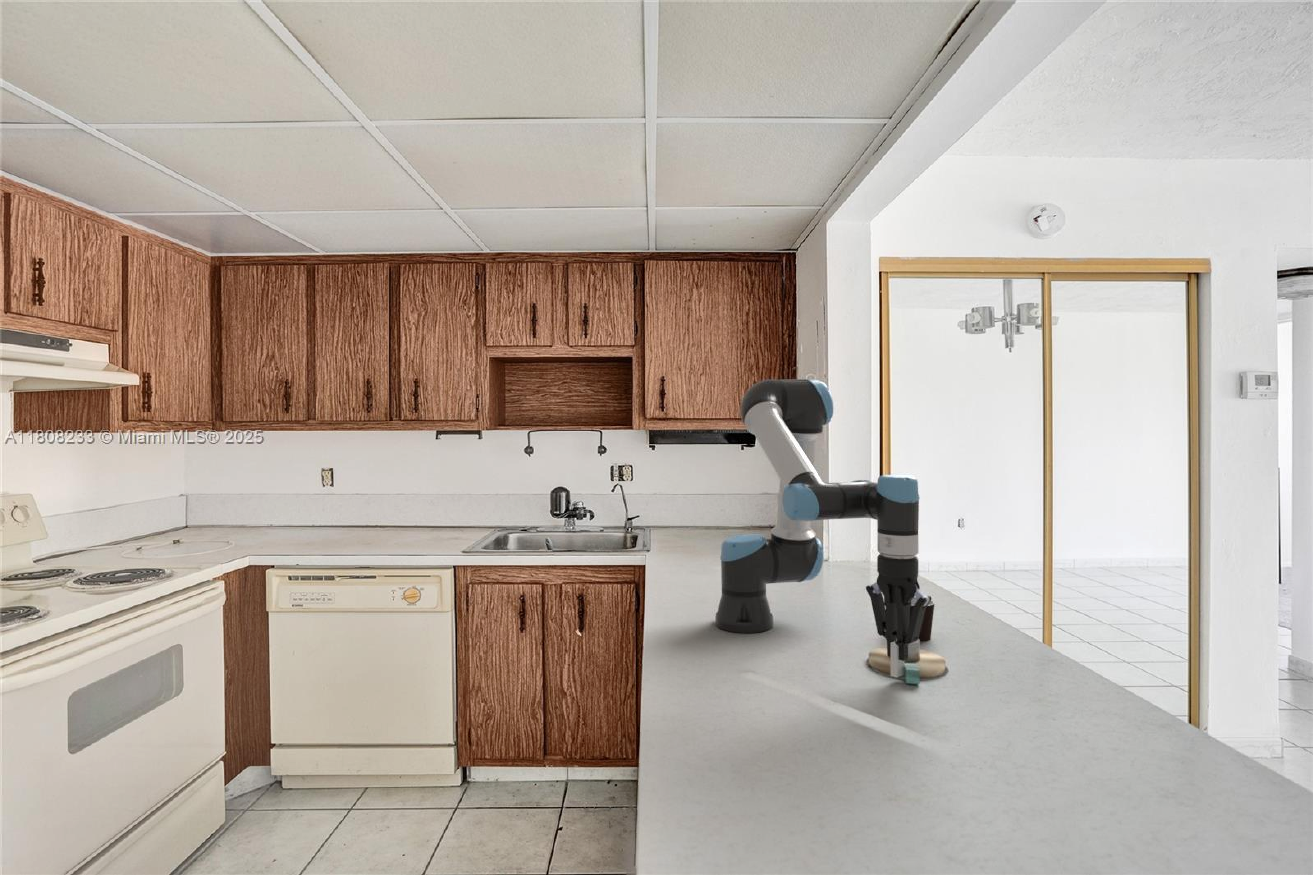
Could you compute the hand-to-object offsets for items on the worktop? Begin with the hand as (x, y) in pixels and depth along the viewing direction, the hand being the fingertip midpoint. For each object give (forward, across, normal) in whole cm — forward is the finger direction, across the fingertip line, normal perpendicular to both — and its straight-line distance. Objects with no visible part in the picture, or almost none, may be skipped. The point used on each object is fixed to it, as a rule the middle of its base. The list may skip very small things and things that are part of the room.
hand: (897, 675), depth 127 cm
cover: (0, -4, +9) cm, 10 cm away
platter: (+1, -3, +8) cm, 8 cm away
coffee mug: (+3, -14, +29) cm, 33 cm away
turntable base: (+3, -4, +9) cm, 11 cm away
